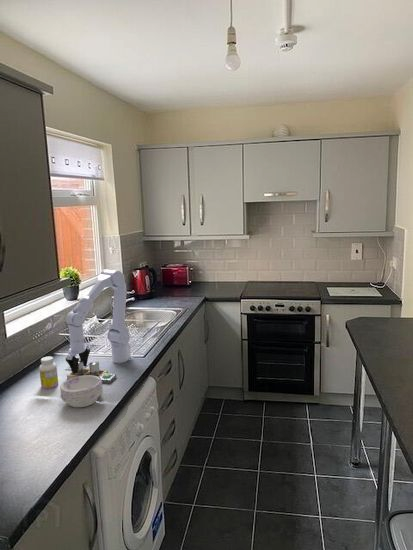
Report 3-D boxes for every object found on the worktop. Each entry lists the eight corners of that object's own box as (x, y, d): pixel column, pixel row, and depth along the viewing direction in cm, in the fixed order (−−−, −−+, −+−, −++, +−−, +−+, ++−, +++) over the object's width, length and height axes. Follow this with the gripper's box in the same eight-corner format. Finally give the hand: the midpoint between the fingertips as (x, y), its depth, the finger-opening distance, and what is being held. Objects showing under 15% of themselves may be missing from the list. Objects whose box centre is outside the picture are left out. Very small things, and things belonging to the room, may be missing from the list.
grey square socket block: (104, 378, 184) (104, 373, 184) (116, 379, 183) (116, 374, 182) (98, 384, 178) (97, 379, 178) (110, 385, 177) (109, 380, 176)
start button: (105, 380, 182) (105, 373, 182) (111, 380, 181) (111, 374, 181) (102, 383, 179) (102, 376, 179) (108, 383, 179) (108, 376, 178)
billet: (78, 373, 189) (77, 360, 188) (86, 374, 187) (85, 360, 186) (72, 376, 185) (71, 363, 184) (80, 377, 184) (79, 364, 183)
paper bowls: (73, 392, 172) (71, 373, 171) (109, 393, 170) (108, 375, 168) (54, 410, 158) (52, 390, 156) (93, 412, 155) (91, 392, 153)
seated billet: (93, 374, 187) (92, 361, 186) (101, 374, 186) (100, 361, 185) (88, 378, 183) (87, 364, 182) (97, 378, 182) (96, 365, 181)
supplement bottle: (41, 386, 179) (38, 356, 177) (58, 383, 181) (55, 354, 179) (41, 392, 173) (38, 362, 170) (58, 389, 175) (55, 359, 173)
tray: (74, 365, 200) (74, 362, 200) (89, 366, 199) (89, 363, 198) (65, 371, 193) (65, 368, 193) (80, 372, 191) (80, 369, 191)
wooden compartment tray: (77, 373, 191) (76, 368, 190) (108, 375, 187) (107, 370, 187) (67, 380, 183) (66, 375, 183) (99, 383, 180) (98, 377, 179)
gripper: (77, 333, 191) (80, 362, 193) (58, 344, 177) (62, 375, 180) (91, 334, 189) (94, 363, 192) (74, 345, 175) (77, 376, 178)
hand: (79, 369), depth 186 cm, fingers open, 7 cm apart
